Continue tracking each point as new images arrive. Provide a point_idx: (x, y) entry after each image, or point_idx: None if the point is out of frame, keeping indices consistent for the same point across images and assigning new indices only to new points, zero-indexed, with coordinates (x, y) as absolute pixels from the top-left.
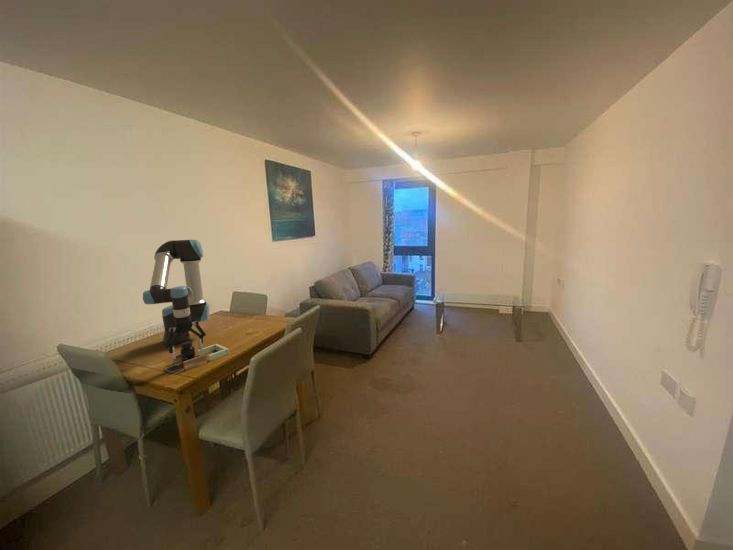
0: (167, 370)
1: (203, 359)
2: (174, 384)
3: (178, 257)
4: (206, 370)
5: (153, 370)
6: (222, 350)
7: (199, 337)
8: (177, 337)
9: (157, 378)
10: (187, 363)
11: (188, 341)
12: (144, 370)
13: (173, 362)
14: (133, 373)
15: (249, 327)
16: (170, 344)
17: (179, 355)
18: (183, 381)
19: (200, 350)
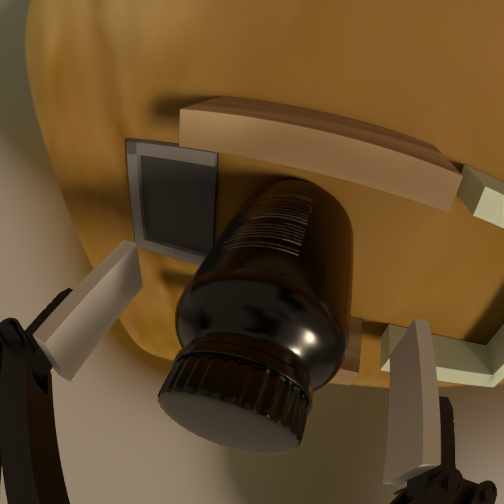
0: (134, 198)
1: None
2: (133, 332)
3: None
4: None
5: (93, 82)
6: (471, 379)
7: (421, 479)
8: (59, 490)
9: (88, 220)
10: None
11: (274, 433)
12: (69, 32)
13: (217, 97)
14: (36, 31)
15: None
16: (21, 363)
17: (248, 153)
18: (163, 348)
19: (484, 219)
